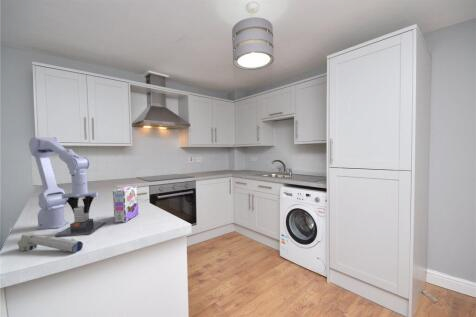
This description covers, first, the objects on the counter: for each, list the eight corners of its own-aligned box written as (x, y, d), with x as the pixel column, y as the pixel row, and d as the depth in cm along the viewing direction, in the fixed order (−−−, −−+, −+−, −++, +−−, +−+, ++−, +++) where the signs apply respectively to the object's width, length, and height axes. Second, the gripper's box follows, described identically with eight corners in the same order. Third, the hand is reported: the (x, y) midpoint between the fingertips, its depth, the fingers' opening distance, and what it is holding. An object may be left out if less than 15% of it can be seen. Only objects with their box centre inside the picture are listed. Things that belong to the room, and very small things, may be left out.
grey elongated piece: (72, 244, 75) (13, 232, 79) (71, 262, 75) (13, 249, 79) (85, 238, 80) (29, 227, 84) (84, 255, 81) (29, 243, 85)
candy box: (125, 222, 108) (123, 190, 107) (114, 223, 108) (112, 190, 107) (138, 214, 121) (137, 185, 121) (128, 214, 122) (127, 185, 121)
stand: (55, 237, 92) (54, 227, 92) (75, 225, 106) (74, 217, 105) (90, 234, 94) (90, 225, 94) (105, 223, 108) (105, 215, 107)
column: (74, 223, 97) (73, 208, 97) (79, 220, 101) (78, 205, 101) (84, 222, 98) (83, 207, 97) (89, 219, 102) (88, 205, 101)
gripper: (56, 186, 94) (58, 216, 94) (92, 184, 96) (94, 214, 96) (66, 183, 101) (68, 212, 101) (100, 182, 103) (101, 210, 103)
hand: (81, 213), depth 99 cm, fingers closed on column, 4 cm apart
